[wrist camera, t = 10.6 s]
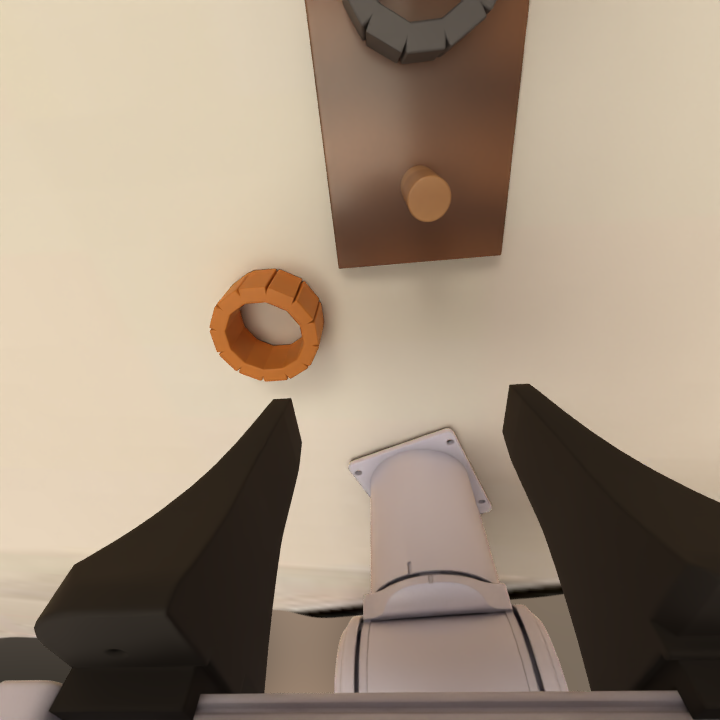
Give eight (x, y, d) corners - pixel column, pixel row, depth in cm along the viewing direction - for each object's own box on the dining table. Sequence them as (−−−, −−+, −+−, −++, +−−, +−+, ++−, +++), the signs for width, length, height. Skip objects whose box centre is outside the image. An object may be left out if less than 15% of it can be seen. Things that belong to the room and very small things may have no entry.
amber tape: (315, 264, 19) (308, 283, 17) (329, 352, 22) (324, 378, 20) (214, 273, 20) (195, 292, 18) (241, 359, 23) (227, 384, 20)
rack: (496, 250, 19) (528, 282, 15) (339, 263, 19) (332, 297, 16) (544, -208, 11) (629, -368, 8) (286, -166, 12) (248, -295, 8)
